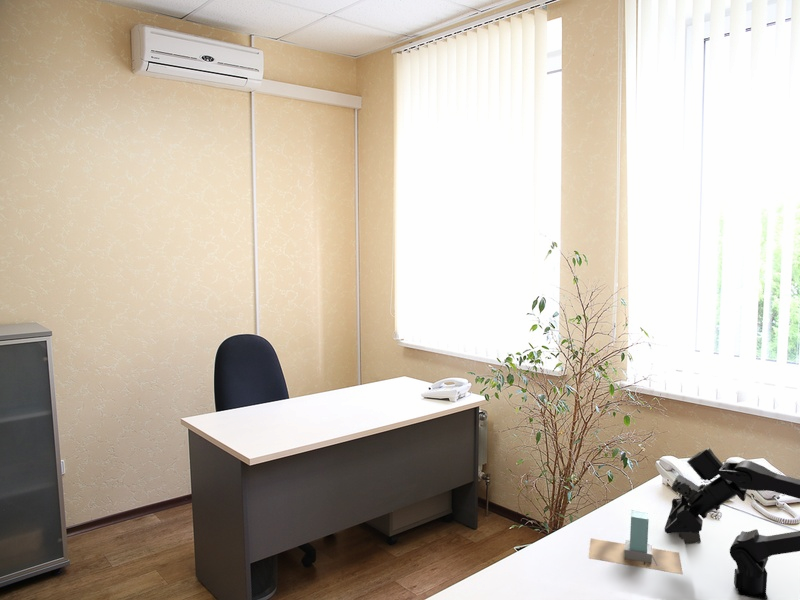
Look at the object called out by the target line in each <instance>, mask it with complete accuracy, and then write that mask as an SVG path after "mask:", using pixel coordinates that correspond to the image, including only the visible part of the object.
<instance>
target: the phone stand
mask: <svg viewBox="0 0 800 600" xmlns="http://www.w3.org/2000/svg"><path fill="white" fill-rule="evenodd" d="M681 498H682V497H679V498H673V499H672V500H671V509H670V512H669V515H670V514H671V513H672V512H673V511H674V510H675V508H676V507H677V506H678V505H679V504H680V503H681ZM669 515H668V517H667V521H666V523H665V525H664V530H665V529H666V528H667V527H668V526H669V525H670V524H671V523H672V522H673V521H674V520H675V519H673V520H671V519H670V518H669ZM678 537H679V538H680V539H681V540H683V542H684V544H685V545H688V544H695V543H701V542H702V540H701V534H700V531H699V532H698V533H696V534H695V533H691V532H681V533H678Z"/></svg>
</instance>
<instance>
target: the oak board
mask: <svg viewBox="0 0 800 600" xmlns="http://www.w3.org/2000/svg"><path fill="white" fill-rule="evenodd" d="M680 556H681V555H680V552H677V551H671V550H665V549H658V548H653V547H652V563H647V562H642V561H636V560H631V559H625V543H622V542H615V541H609V540H603V539H596V538H590V541H589V552H588V559H590V560H591V559H592V560H598V561H603V562H610V563H615V564H621V565H627V566H632V567H638V568H644V569H649V570H655V571H656V570H657V571H661V572H668V573H673V574H680V575H683V574H684V573H683V567H682V562H681V557H680Z"/></svg>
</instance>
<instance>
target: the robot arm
mask: <svg viewBox="0 0 800 600" xmlns="http://www.w3.org/2000/svg"><path fill="white" fill-rule="evenodd" d="M686 463H687V464H688V465H689V466H690V468H691V469H692V470H693V471H694V472H695V473H696V474H697V475H698V477H699V478H700V479H701V480H703V481H708V482H709V481H710V482H709V483H707V484H701V485H699V486H698V485H697V484H695V482H693V481H692V480H690V479H688V478H686V477H684V476H683V475H681V474H677V476H676V478H675V479H674V481H673V482H672V484H671V490H672V491H673V492H675V493H678V494H680V495H681V497H680V498H681V503H680V504H679V505H678V506H677V507H676V508H675V510H674V511H673V512H672V513H671V514H670V513H669V514H670V515H668V517H669V518H670V519H671V520H673V519H675V520H674V521H673V522H672V523H671V524H670V525H669V526H668V527H667V528H666V529H664V532H665V533H666V534H679V533H681V532H691V533H695V534H696V533H698V532H699V533H700V532H701V531H702V530H703V529H702V528H703V520H704V519H706V518H707V517H708V514H709V513H711V512H712V511H714V510H715V511H718V510H720V509H721V506H722V505H724V504H725V503H727V502H728V501H730V500H732V499H733V498H735V497H736V496H737V497H738V498H739V499H740V500H741V502H745V501H746V498H747V492H748V491H756V492H764V491H767V492H774V493H778V494H782V495H785V496H787V497H791V498H796V499H799V500H800V479H799V478H794V477H790V476H789V475H787V476H786V475H783V474H779V473H777V472H774V471H773V470H770V469H768V468H767V467H765V466H763V465H761V464H758V463H756V462H754V461H752V460H746V459H745V460H742V461H739V462H733V461H725V462H723V463H722V461H721V460H720V459H719V458H718V457H717V456H716V455H715V454H714V452H713V451H712V449H711V448H710V447H707V448H706V449H704V450H701V451H698V452H697V453H696V454H694V455H693V456H692V457H690V458H689V459H688V460H687V461H686ZM718 475H719V476H718ZM716 477H717V478H716ZM714 478H715V479H714ZM711 480H712V481H711ZM797 552H800V530H796V531H791V532H786V533H785V532H784V533H779V534H773V535H763V534H759V530H758V529H752V530H750V531H743V530H742V531H741V532H740V534H738V535H737V536H736V537H735V538H734V541H733V542H732V544H731V546H730V548H729V555H730V557H731V559H732V560H733V561H734V562H735V564H736V568H735V569H734V575H733V585H734V587H735V589H736V590H737V594H738V595H740V596H743V597H749V598H753V599H754V598H755V599H759V600H768V595H767V584H768V583H767V581H768V572H767V569H766V566H767V563H768V560H769V558H770V557H771V556H776V555H783V554H790V553H797Z"/></svg>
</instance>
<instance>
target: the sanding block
mask: <svg viewBox="0 0 800 600" xmlns="http://www.w3.org/2000/svg"><path fill="white" fill-rule="evenodd" d="M630 511H631V513H630V534H629V535H630V536H629V537H630V538H629V540H627V539H625V543H624V544H625V559H631V560H636V561H642V562H647V563H652V548H653V544H651V543H648V541H649V540H648V538H649V517H650V516H649V512H647V511H640V510H633V509H631V510H630Z"/></svg>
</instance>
